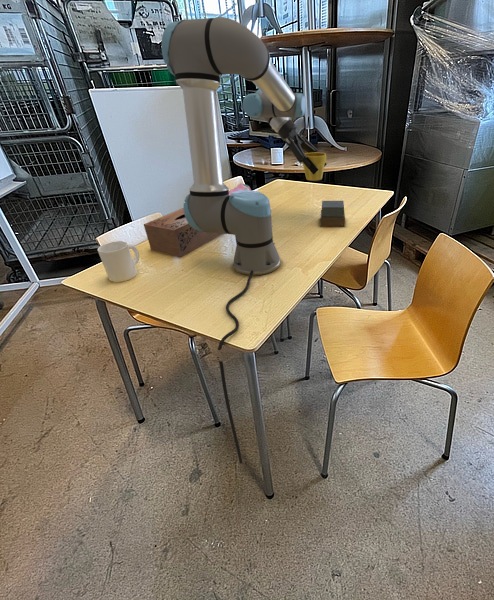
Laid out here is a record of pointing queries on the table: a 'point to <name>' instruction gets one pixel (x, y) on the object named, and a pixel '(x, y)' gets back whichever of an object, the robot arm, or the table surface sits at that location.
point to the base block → (332, 221)
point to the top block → (332, 208)
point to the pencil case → (240, 188)
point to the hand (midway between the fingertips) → (320, 169)
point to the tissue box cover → (175, 235)
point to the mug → (119, 260)
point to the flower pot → (318, 161)
